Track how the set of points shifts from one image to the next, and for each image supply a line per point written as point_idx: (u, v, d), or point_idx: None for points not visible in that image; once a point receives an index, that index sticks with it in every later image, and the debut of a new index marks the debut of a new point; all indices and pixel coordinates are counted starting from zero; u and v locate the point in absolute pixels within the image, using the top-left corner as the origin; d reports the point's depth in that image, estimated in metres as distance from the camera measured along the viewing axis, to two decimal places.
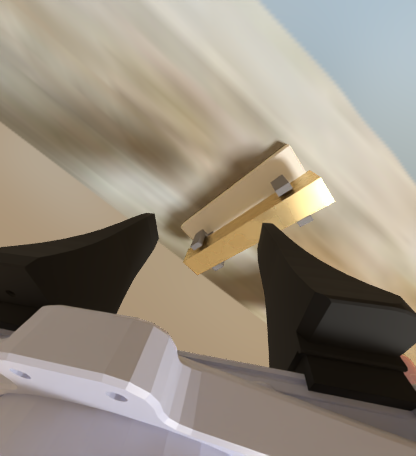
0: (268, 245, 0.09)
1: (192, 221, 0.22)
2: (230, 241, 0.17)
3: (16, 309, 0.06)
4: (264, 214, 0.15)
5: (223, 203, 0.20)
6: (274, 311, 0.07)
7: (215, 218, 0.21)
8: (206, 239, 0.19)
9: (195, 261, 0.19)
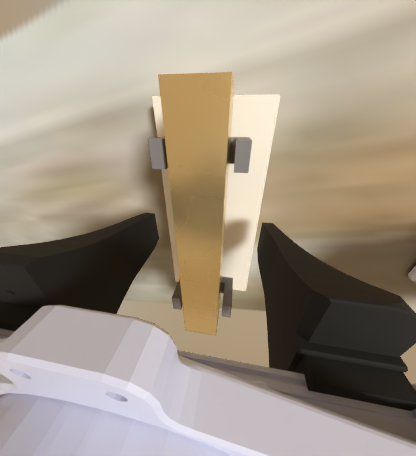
0: (268, 245, 0.09)
1: (176, 267, 0.16)
2: (192, 274, 0.10)
3: (16, 309, 0.06)
4: (175, 209, 0.08)
5: None
6: (274, 311, 0.07)
7: None
8: None
9: (193, 322, 0.13)
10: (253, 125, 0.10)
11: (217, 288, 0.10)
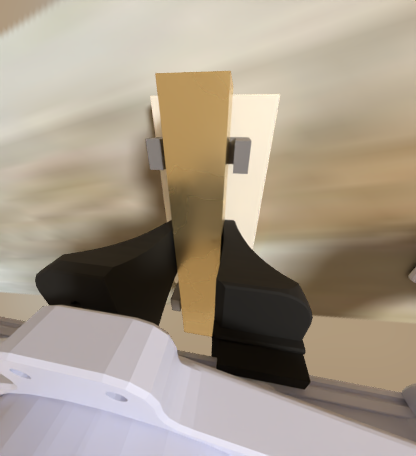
0: None
1: None
2: (191, 276, 0.10)
3: None
4: (174, 210, 0.08)
5: None
6: None
7: None
8: None
9: (192, 323, 0.12)
10: (252, 125, 0.10)
11: None
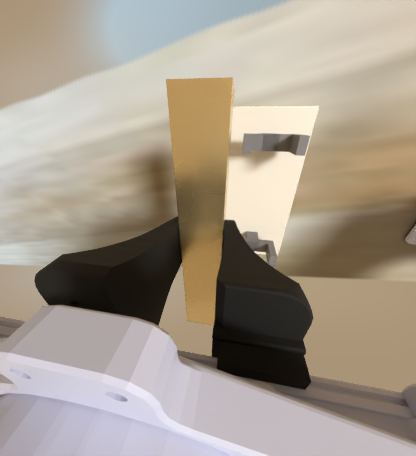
0: (223, 241, 0.09)
1: None
2: (194, 266, 0.11)
3: None
4: (180, 203, 0.09)
5: (230, 201, 0.19)
6: None
7: (237, 219, 0.19)
8: None
9: (195, 312, 0.13)
10: (298, 126, 0.14)
11: None
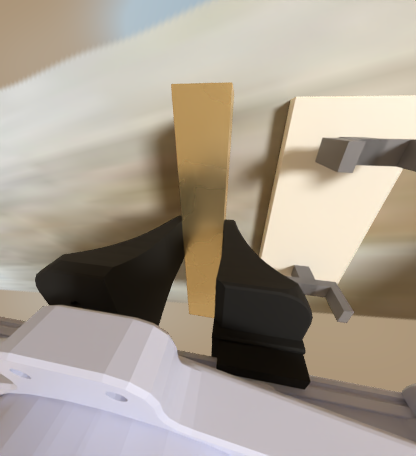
0: None
1: None
2: (196, 259, 0.11)
3: None
4: (183, 199, 0.09)
5: (277, 229, 0.14)
6: None
7: (284, 250, 0.15)
8: None
9: (197, 305, 0.14)
10: (401, 126, 0.09)
11: None
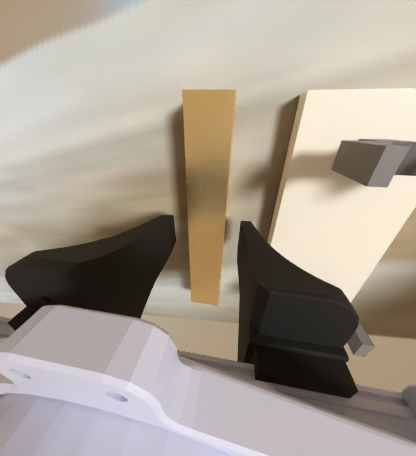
0: (242, 242, 0.09)
1: None
2: (199, 248, 0.12)
3: None
4: (189, 192, 0.10)
5: (282, 244, 0.12)
6: (242, 306, 0.07)
7: None
8: None
9: (199, 293, 0.15)
10: None
11: (220, 260, 0.13)
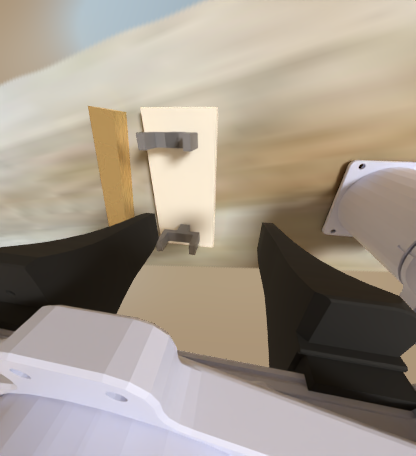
0: (268, 245, 0.09)
1: (161, 229, 0.22)
2: (110, 199, 0.20)
3: (16, 309, 0.06)
4: (99, 161, 0.18)
5: (160, 196, 0.20)
6: (274, 311, 0.07)
7: (170, 212, 0.21)
8: None
9: None
10: (203, 125, 0.16)
11: (123, 208, 0.21)
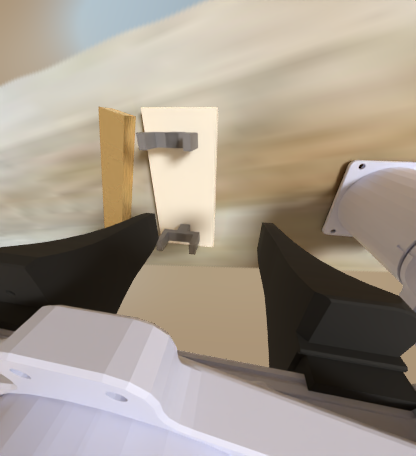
0: (268, 245, 0.09)
1: (161, 229, 0.22)
2: (109, 198, 0.20)
3: (16, 309, 0.06)
4: (102, 161, 0.18)
5: (160, 196, 0.20)
6: (274, 311, 0.07)
7: (170, 212, 0.21)
8: None
9: None
10: (203, 125, 0.16)
11: (121, 208, 0.21)
